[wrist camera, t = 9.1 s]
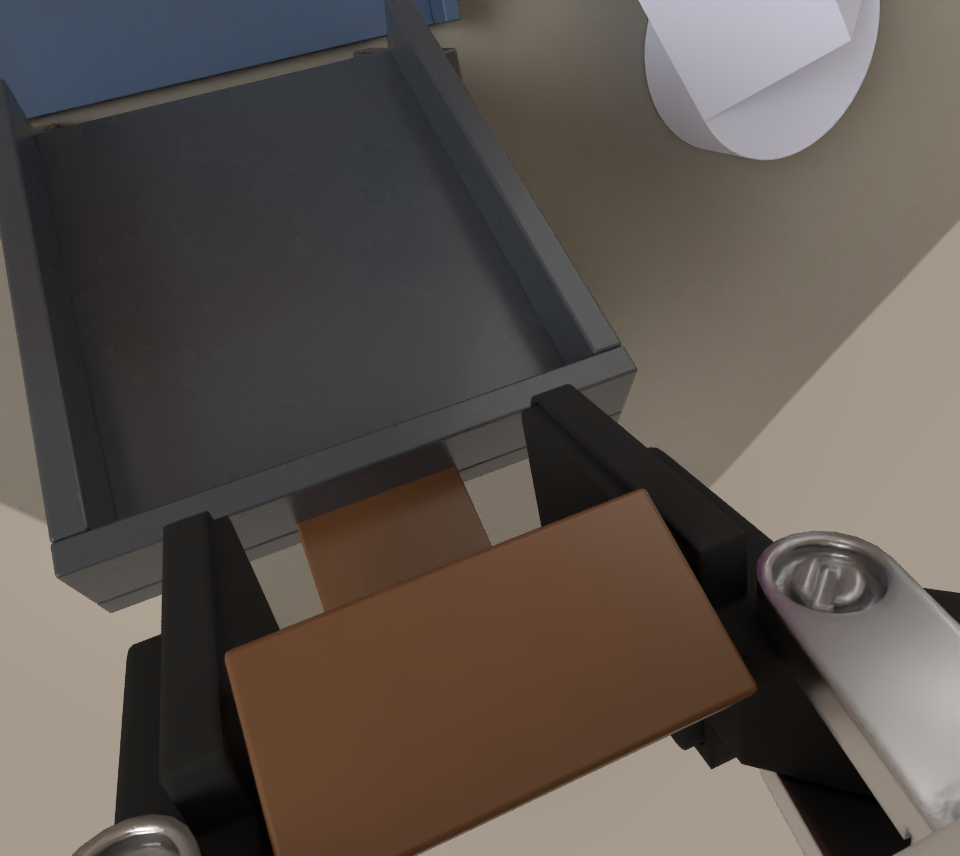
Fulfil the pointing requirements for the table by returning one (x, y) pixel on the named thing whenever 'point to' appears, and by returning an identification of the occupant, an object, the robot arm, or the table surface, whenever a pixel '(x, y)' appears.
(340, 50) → the table surface
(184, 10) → the tray
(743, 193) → the table surface
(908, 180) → the table surface
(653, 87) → the wedge on round base
